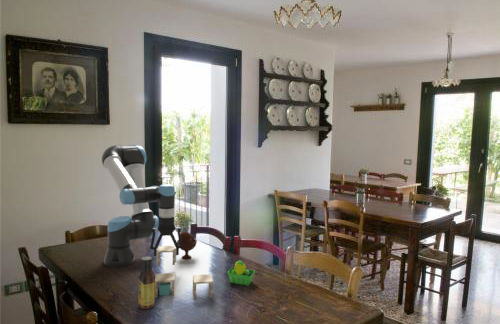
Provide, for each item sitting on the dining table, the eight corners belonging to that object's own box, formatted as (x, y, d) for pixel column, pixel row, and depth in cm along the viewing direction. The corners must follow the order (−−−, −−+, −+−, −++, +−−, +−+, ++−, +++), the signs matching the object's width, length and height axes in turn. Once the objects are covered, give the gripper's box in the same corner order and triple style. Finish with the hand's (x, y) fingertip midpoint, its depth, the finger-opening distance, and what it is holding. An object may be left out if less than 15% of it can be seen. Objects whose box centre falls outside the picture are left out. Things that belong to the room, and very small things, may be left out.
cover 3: (193, 298, 159) (193, 282, 158) (192, 290, 167) (192, 275, 166) (212, 297, 160) (213, 281, 160) (210, 289, 168) (211, 274, 168)
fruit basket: (255, 281, 180) (255, 257, 179) (248, 288, 171) (249, 263, 170) (232, 277, 183) (233, 254, 182) (225, 284, 175) (226, 260, 174)
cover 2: (154, 297, 159) (154, 281, 159) (155, 289, 167) (155, 273, 166) (174, 296, 161) (174, 280, 160) (174, 288, 169) (174, 273, 168)
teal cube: (159, 295, 161) (159, 285, 161) (159, 291, 166) (159, 281, 165) (170, 295, 162) (170, 284, 162) (170, 290, 166) (170, 280, 166)
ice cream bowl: (192, 262, 203) (193, 234, 201) (173, 260, 205) (173, 232, 204) (199, 255, 213) (199, 229, 212) (180, 254, 215) (181, 228, 214)
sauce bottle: (140, 302, 154) (140, 254, 152) (155, 302, 154) (156, 254, 153) (136, 310, 147) (136, 260, 146) (153, 310, 148) (153, 260, 146)
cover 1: (157, 265, 182) (157, 251, 182) (158, 260, 190) (158, 246, 190) (174, 264, 184) (174, 250, 183) (174, 259, 192) (174, 245, 191)
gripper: (143, 218, 180) (143, 265, 181) (188, 217, 184) (188, 263, 185) (145, 215, 187) (145, 260, 189) (188, 214, 191) (187, 258, 193)
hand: (166, 262), depth 187 cm, fingers closed on cover 1, 8 cm apart
